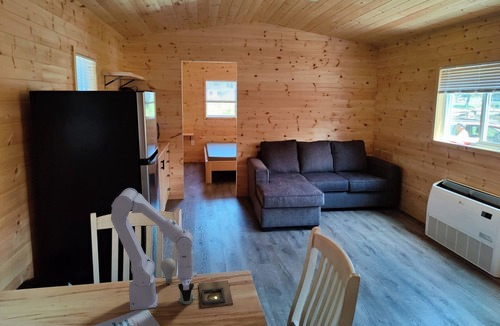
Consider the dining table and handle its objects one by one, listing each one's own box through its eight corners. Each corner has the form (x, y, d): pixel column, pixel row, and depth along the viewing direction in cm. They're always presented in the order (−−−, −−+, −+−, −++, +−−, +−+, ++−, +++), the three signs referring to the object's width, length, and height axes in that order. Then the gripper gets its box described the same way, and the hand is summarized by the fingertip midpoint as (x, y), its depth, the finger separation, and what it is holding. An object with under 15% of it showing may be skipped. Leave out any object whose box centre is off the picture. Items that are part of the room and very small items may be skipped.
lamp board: (200, 308, 133) (200, 306, 133) (198, 284, 148) (198, 283, 148) (233, 304, 135) (233, 303, 135) (227, 281, 150) (227, 280, 150)
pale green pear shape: (178, 304, 134) (178, 292, 133) (178, 297, 138) (178, 285, 137) (194, 303, 135) (194, 291, 134) (194, 295, 139) (194, 284, 138)
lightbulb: (168, 289, 145) (167, 264, 142) (158, 284, 148) (157, 259, 146) (179, 282, 149) (178, 258, 147) (170, 277, 153) (168, 254, 151)
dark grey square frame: (202, 305, 134) (202, 302, 133) (201, 292, 142) (201, 289, 141) (225, 302, 135) (225, 299, 135) (222, 290, 143) (222, 287, 143)
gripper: (197, 272, 127) (198, 306, 130) (195, 253, 141) (196, 284, 144) (176, 274, 126) (178, 309, 129) (177, 255, 140) (178, 286, 143)
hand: (186, 296), depth 136 cm, fingers closed on pale green pear shape, 5 cm apart
